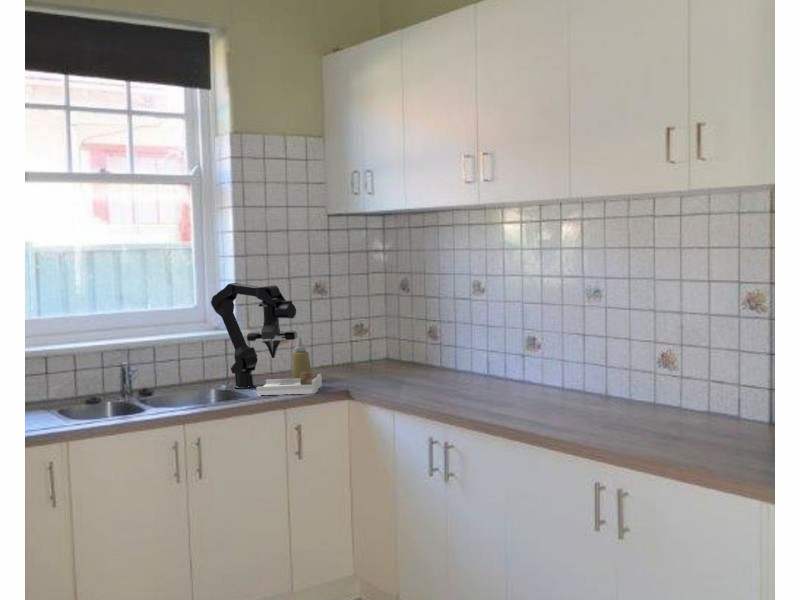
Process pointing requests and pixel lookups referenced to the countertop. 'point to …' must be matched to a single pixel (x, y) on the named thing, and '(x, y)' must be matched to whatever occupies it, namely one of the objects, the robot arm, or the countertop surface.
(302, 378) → the block
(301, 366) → the squeeze bottle
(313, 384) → the board
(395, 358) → the countertop surface
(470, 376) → the countertop surface
